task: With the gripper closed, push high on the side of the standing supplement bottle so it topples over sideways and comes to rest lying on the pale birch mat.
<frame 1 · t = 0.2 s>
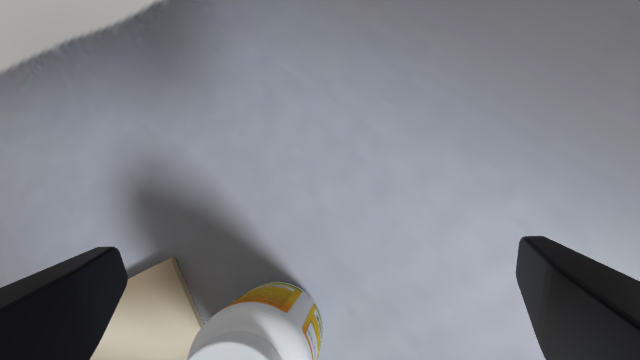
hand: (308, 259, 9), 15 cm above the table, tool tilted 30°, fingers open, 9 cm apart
supplement bottle: (278, 326, 24), on the table
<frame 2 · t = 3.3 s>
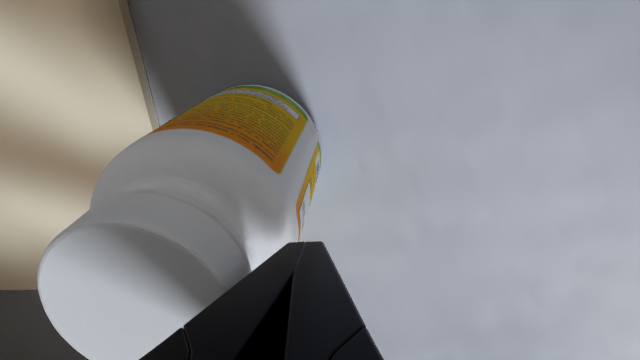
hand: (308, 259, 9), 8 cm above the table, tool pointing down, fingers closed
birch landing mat: (39, 161, 18), on the table
supplement bottle: (259, 146, 17), on the table, touching gripper
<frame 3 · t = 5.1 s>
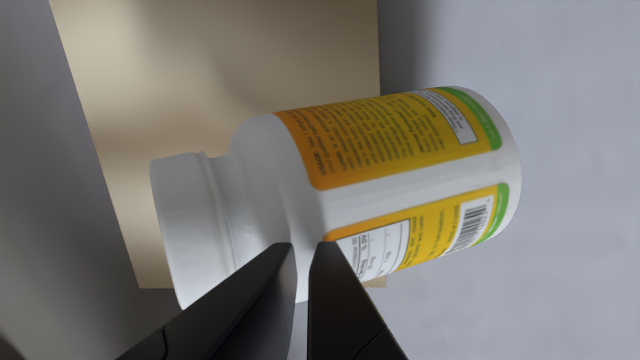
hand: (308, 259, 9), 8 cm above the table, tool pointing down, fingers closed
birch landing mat: (238, 153, 17), on the table
supplement bottle: (466, 162, 14), point 2 cm above the table, touching gripper
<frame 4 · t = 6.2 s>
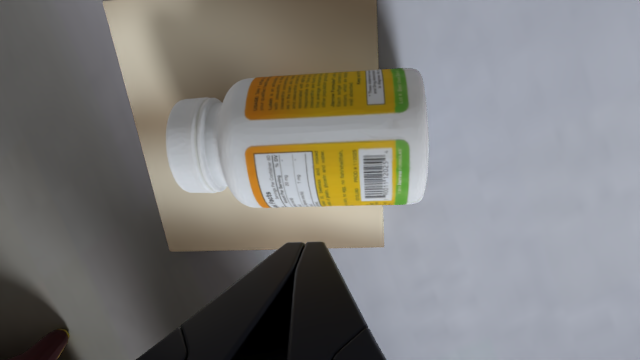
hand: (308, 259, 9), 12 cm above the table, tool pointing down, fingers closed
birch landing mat: (258, 131, 20), on the table
supplement bottle: (425, 136, 16), point 3 cm above the table, touching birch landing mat
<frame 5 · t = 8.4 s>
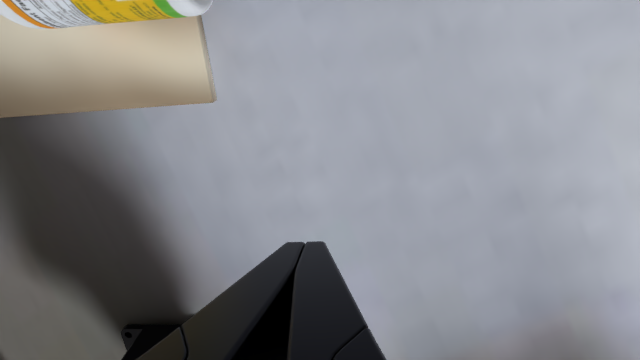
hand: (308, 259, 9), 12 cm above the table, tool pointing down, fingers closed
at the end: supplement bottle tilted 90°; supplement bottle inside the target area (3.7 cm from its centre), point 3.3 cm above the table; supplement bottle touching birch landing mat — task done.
